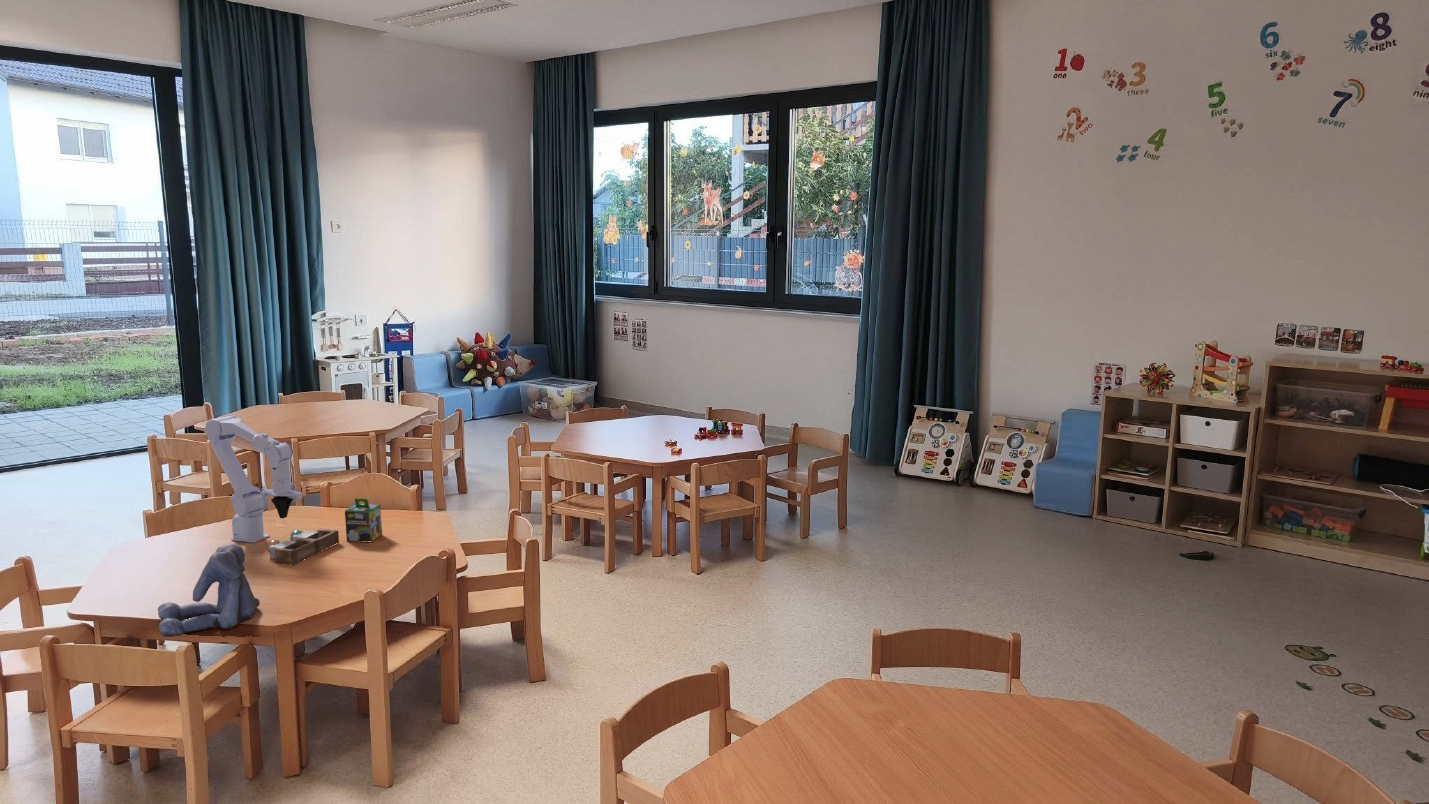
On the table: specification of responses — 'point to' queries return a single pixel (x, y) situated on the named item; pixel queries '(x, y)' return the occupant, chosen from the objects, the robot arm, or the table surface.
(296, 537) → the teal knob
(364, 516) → the chalk box
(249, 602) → the elephant
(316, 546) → the grey brown divided tray
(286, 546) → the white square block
